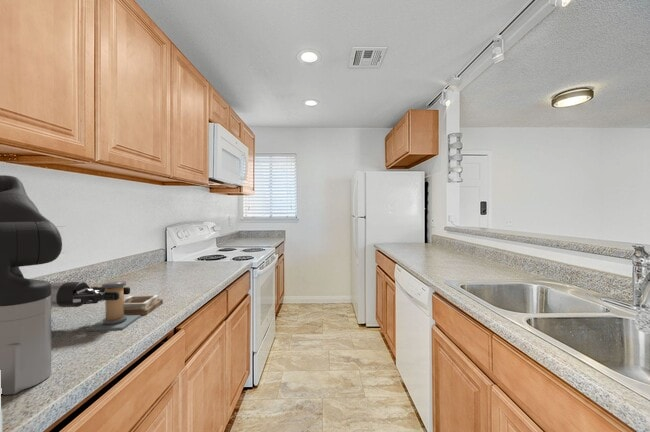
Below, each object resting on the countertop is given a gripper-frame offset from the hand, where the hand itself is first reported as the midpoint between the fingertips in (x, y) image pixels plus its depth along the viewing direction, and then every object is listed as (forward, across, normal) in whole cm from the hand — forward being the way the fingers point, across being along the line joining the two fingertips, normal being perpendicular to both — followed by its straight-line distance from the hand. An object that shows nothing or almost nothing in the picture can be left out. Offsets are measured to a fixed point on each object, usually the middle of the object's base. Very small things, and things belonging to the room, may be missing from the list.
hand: (124, 293), depth 88 cm
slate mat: (-3, 0, +10) cm, 10 cm away
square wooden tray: (-3, +13, +10) cm, 16 cm away
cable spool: (-3, 0, +9) cm, 9 cm away
